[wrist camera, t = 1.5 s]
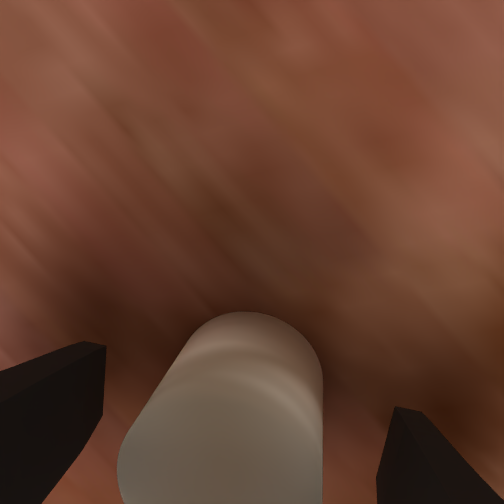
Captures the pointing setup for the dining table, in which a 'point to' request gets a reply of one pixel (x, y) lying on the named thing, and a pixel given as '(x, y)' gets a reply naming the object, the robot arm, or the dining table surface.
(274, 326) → the cylinder
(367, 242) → the dining table surface
